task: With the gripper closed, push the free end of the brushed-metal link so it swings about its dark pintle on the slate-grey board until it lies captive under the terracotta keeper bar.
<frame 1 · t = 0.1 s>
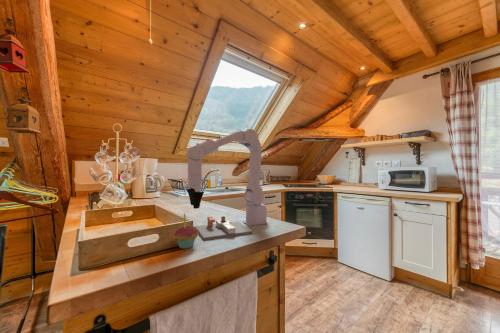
hand: (194, 206, 97), 10 cm above the counter, fingers open, 7 cm apart
link: (226, 226, 96), point 2 cm above the counter, hinge at 90.0°
keeper: (210, 228, 101), resting on board
pintle: (223, 228, 100), resting on board
cupcake: (185, 246, 80), on the counter
board: (223, 230, 97), on the counter
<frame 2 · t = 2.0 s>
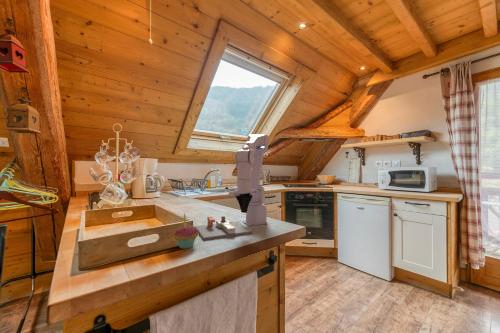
hand: (243, 212, 94), 9 cm above the counter, fingers closed
nothing on the counter moved.
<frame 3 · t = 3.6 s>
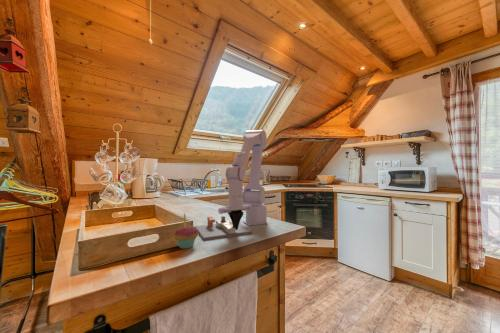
hand: (235, 229, 93), 2 cm above the counter, fingers closed, pressing on link
link: (226, 226, 96), point 2 cm above the counter, hinge at 89.9°, touching gripper
everything else where it was.
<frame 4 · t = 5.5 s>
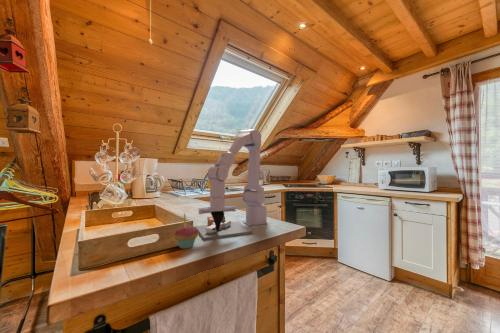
hand: (217, 230, 91), 2 cm above the counter, fingers closed, pressing on link
link: (218, 226, 96), point 2 cm above the counter, hinge at 42.0°, touching gripper
everything else where it was.
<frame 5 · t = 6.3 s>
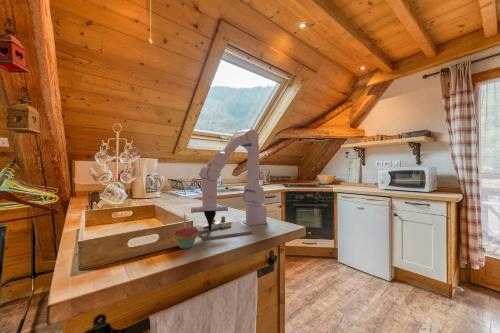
hand: (209, 229, 92), 2 cm above the counter, fingers closed, pressing on link
link: (215, 225, 97), point 2 cm above the counter, hinge at 19.2°, touching gripper
everything else where it was.
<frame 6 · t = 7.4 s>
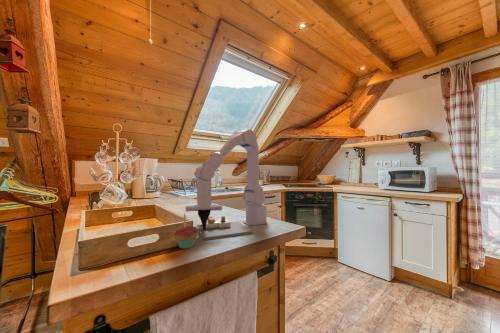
hand: (204, 228, 94), 2 cm above the counter, fingers closed
link: (213, 224, 98), point 2 cm above the counter, hinge at -0.4°, touching gripper
everything else where it was.
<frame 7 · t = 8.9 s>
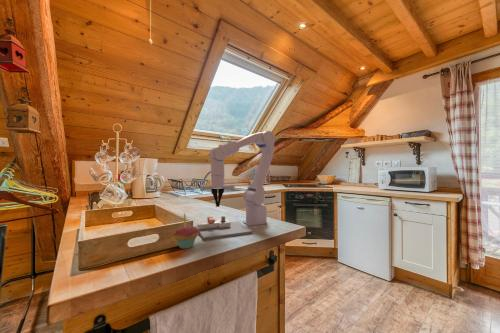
hand: (217, 206, 100), 10 cm above the counter, fingers closed
link: (213, 224, 98), point 2 cm above the counter, hinge at -0.6°
everything else where it was.
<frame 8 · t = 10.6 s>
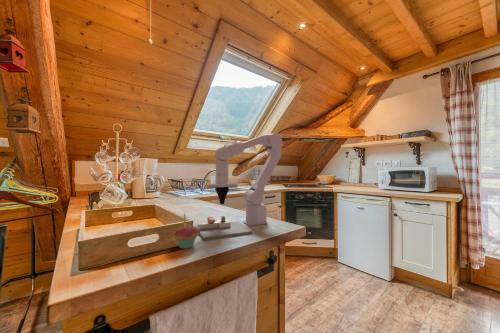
hand: (222, 203, 105), 10 cm above the counter, fingers closed
nothing on the counter moved.
at the end: link at -1° (first picture: +90°) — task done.
